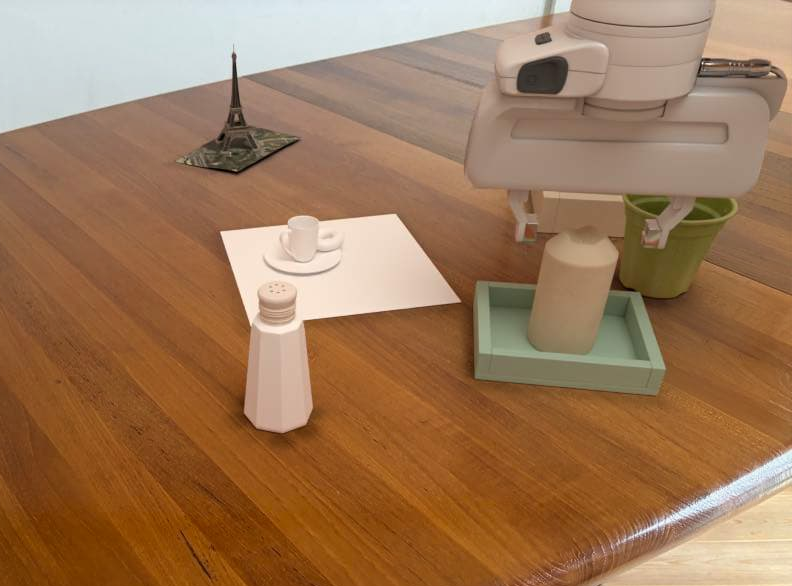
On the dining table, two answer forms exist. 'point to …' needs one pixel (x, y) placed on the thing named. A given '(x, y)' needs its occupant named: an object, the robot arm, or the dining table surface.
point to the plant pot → (669, 244)
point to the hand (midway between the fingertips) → (587, 242)
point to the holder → (579, 211)
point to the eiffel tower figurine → (237, 139)
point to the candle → (572, 291)
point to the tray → (597, 370)
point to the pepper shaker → (278, 363)
